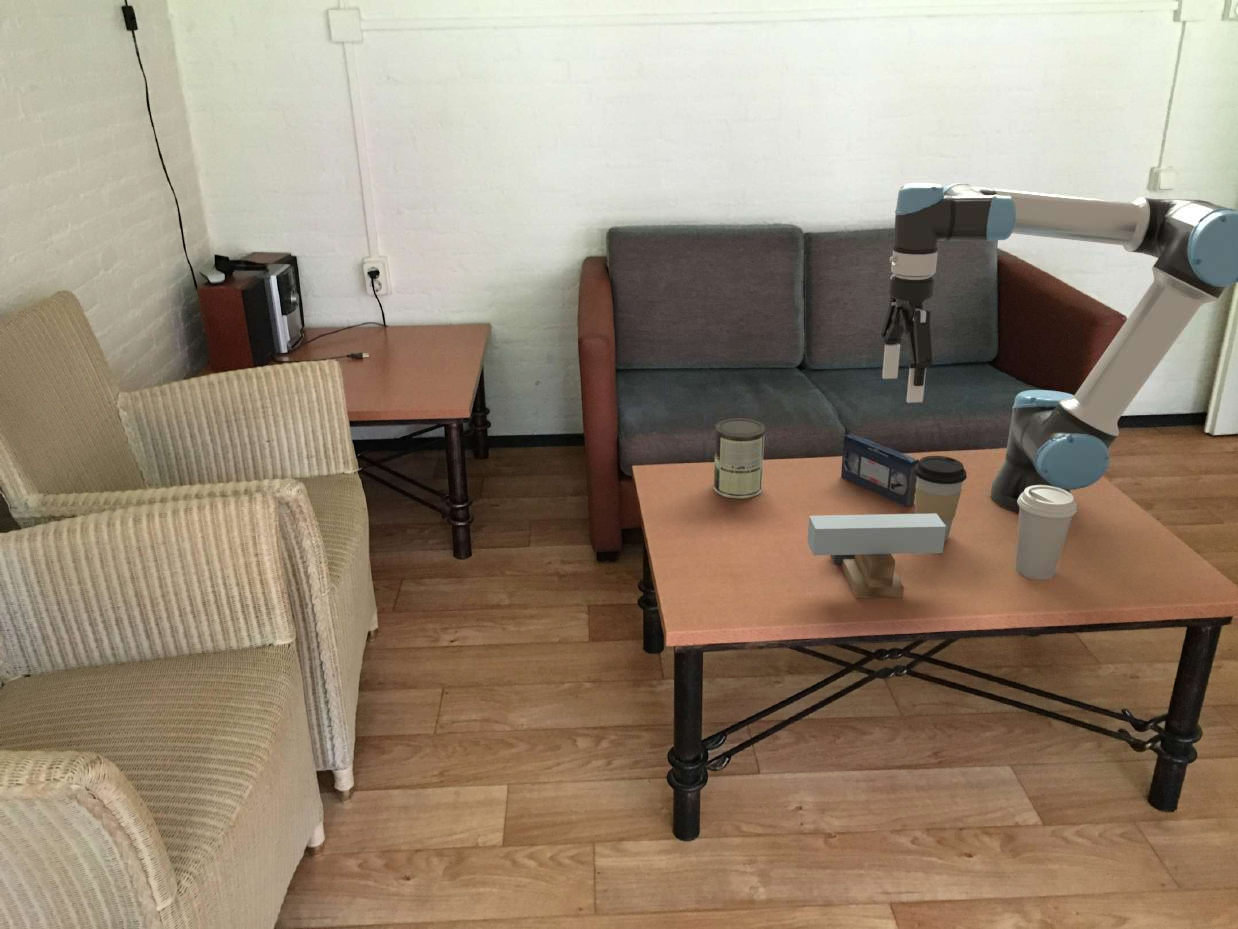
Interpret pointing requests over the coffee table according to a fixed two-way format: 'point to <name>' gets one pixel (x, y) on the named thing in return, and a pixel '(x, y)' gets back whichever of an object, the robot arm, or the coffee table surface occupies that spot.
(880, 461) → the vhs cassette tape
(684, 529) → the coffee table surface
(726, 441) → the coffee can
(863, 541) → the beam
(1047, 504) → the coffee cup
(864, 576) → the fulcrum
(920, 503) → the coffee cup
